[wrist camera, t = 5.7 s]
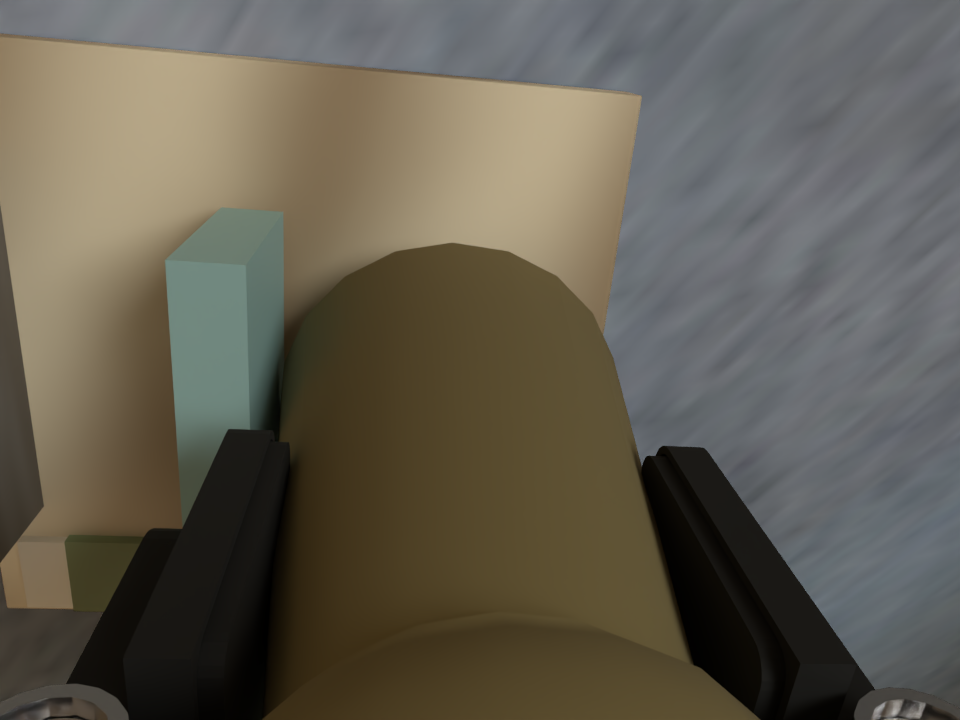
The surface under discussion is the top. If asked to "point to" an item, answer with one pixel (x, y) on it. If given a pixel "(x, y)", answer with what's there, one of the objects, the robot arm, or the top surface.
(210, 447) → the pad
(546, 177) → the stand
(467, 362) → the cork
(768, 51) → the top surface
